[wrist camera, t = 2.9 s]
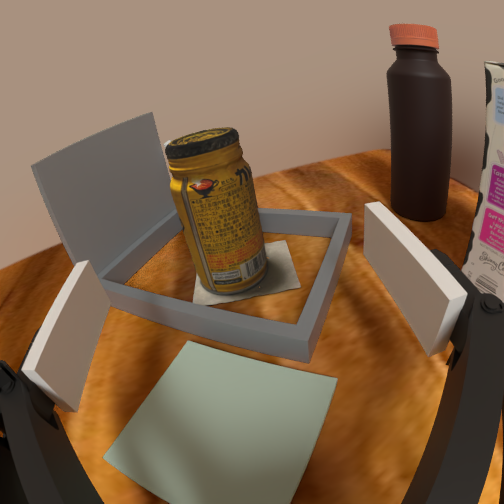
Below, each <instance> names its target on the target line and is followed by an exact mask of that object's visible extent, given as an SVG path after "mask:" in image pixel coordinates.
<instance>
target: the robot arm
mask: <svg viewBox="0 0 504 504" xmlns="http://www.w3.org/2000/svg"><path fill="white" fill-rule="evenodd" d="M363 254H364V256H365V257H366V259H367V260H368V262H369V263H370V265H371V266H372V268H373V269H374V270H375V272H376V273H377V275H378V276H379V278H380V279H381V281H382V282H383V284H384V285H385V287H386V288H387V290H388V292H389V293H390V295H391V296H392V298H393V299H394V301H395V302H396V304H397V306H398V307H399V309H400V310H401V312H402V314H403V315H404V317H405V318H406V320H407V322H408V323H409V325H410V327H411V328H412V330H413V332H414V333H415V335H416V337H417V338H418V340H419V342H420V344H421V345H422V347H423V349H424V350H425V352H426V354H427V356H428V357H430V356H432V355H435V354H437V353H440V352H442V351H444V350H445V349H446V347H447V345H448V342H449V340H450V341H451V342H452V344H453V345H454V349H453V351H452V353H451V355H450V357H449V359H448V361H447V363H446V365H449V369H448V373H447V378H446V382H445V386H444V390H443V394H442V398H441V401H440V405H439V408H438V412H437V415H436V418H435V422H434V425H433V428H432V431H431V434H430V437H429V440H428V442H427V445H426V448H425V451H424V453H423V456H422V458H421V461H420V463H419V466H418V468H417V471H416V473H415V475H414V478H413V480H412V482H411V484H410V486H409V489H408V491H407V493H406V495H405V497H404V499H403V501H402V503H401V504H478V502H479V499H480V496H481V493H482V490H483V487H484V484H485V481H486V477H487V474H488V471H489V467H490V463H491V459H492V455H493V451H494V447H495V443H496V438H497V433H498V428H499V422H500V416H501V409H502V421H503V464H502V480H501V490H500V499H499V504H504V303H503V302H502V300H501V299H499V298H498V297H497V296H495V295H493V294H490V293H481V292H480V291H479V290H478V289H477V288H476V287H475V285H474V284H473V283H472V282H471V281H470V280H469V279H468V278H467V276H466V275H465V274H464V273H463V272H462V271H460V269H459V268H458V267H457V266H456V265H454V262H453V261H452V260H451V259H450V258H449V257H448V256H447V255H446V254H444V253H442V252H440V251H439V250H437V249H433V250H428V249H427V248H426V247H425V245H424V244H423V243H422V242H421V241H420V240H419V239H418V238H417V237H416V236H415V235H414V234H413V233H412V232H411V231H410V230H409V229H408V228H407V227H406V226H405V225H404V224H403V223H402V222H401V221H400V220H399V219H397V218H396V217H395V216H394V215H393V214H392V213H391V212H390V211H389V210H388V209H387V208H386V207H385V206H384V205H383V204H381V203H380V202H373V203H368V204H365V221H364V253H363ZM110 305H111V301H110V299H109V297H108V295H107V294H106V292H105V290H104V288H103V286H102V285H101V283H100V281H99V279H98V277H97V275H96V273H95V271H94V269H93V267H92V265H91V263H90V261H89V260H87V261H83V262H78V263H77V264H76V265H75V267H74V268H73V270H72V272H71V273H70V275H69V277H68V278H67V280H66V282H65V284H64V285H63V287H62V289H61V291H60V292H59V294H58V296H57V298H56V299H55V301H54V303H53V305H52V307H51V309H50V311H49V312H48V314H47V316H46V318H45V320H44V322H43V324H42V325H41V327H40V328H39V329H38V330H37V331H36V333H35V335H34V337H33V339H32V343H30V345H29V348H28V349H29V350H27V352H26V354H25V356H24V359H23V361H22V363H21V365H20V368H19V370H18V372H17V374H16V373H15V372H14V371H13V370H12V369H11V368H10V367H9V365H8V364H7V363H6V362H5V361H3V360H0V431H1V432H2V433H3V438H2V437H0V504H104V502H103V501H102V499H101V498H100V496H99V494H98V493H97V491H96V489H95V488H94V486H93V484H92V483H91V481H90V479H89V478H88V476H87V474H86V472H85V470H84V469H83V467H82V465H81V463H80V461H79V459H78V457H77V455H76V453H75V451H74V449H73V447H72V445H71V443H70V441H69V439H68V437H67V434H66V432H65V430H64V428H63V425H62V423H61V421H60V418H59V416H58V414H57V413H56V412H55V411H54V410H53V409H54V405H55V404H56V405H57V406H58V407H59V408H60V409H62V410H63V411H65V412H78V408H79V404H80V400H81V396H82V392H83V389H84V385H85V381H86V378H87V375H88V371H89V368H90V364H91V361H92V358H93V355H94V352H95V349H96V345H97V342H98V339H99V336H100V333H101V331H102V328H103V325H104V322H105V319H106V316H107V314H108V311H109V308H110ZM449 363H450V364H449Z"/></svg>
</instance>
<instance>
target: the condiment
mask: <svg viewBox="0 0 504 504" xmlns="http://www.w3.org/2000/svg"><path fill="white" fill-rule="evenodd" d="M239 144H240V143H239V135H238V132H237V130H235V129H233V128H228V127H227V128H215V129H209V130H203V131H200V132H196V133H192V134H189V135H186V136H183V137H180V138H178V139H175V140H173V141H171V142H170V143H168V145H167V146H166V149H165V153H166V155H167V159H168V162H169V165H170V166H169V170H170V172H171V173H172V175H173V177H172V180H171V182H170V190H171V195H172V198H173V201H174V203H175V206H176V210H177V213H178V216H179V220H180V222H181V226H182V229H183V233H184V235H185V239H186V242H187V245H188V248H189V250H190V254H191V256H192V261H193V263H194V266H195V270H196V273H197V276H196V284H195V291H194V297H193V303H195V304H199V305H203V306H205V305H213V304H218V303H226V302H232V301H235V300H242V299H245V298H251V297H253V296H257V295H266V294H273V293H277V292H281V291H284V290H288V289H294V288H299V287H301V286H300V283H299V280H298V277H297V274H296V271H295V268H294V265H293V262H292V259H291V256H290V252H289V250H288V246H287V243H286V240H283V241H276V242H273V243H265V244H264V239H263V232H262V226H261V222H260V215H259V212H258V206H257V201H256V195H255V189H254V184H253V178H252V172H251V169H250V166H249V164H248V163H247V162H246V161H245V160H244V159H243V158H242V154H243V151H242V148H241V146H240V145H239ZM267 257H269V259H268V258H267ZM259 287H260V288H259Z"/></svg>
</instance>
